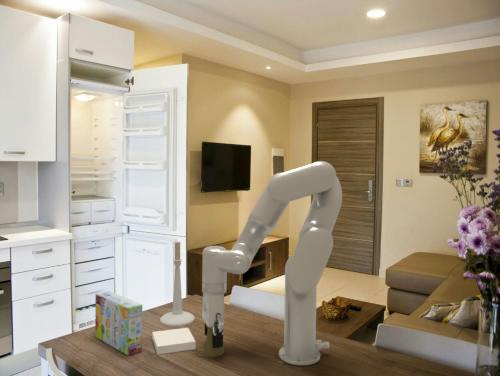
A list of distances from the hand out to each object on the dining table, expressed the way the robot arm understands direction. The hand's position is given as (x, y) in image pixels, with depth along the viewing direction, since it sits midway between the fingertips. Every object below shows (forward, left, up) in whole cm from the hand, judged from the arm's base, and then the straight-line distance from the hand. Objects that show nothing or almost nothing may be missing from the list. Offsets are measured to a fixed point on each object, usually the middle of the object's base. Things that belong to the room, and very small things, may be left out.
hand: (213, 340), depth 131 cm
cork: (0, 0, -4) cm, 4 cm away
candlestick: (+6, -31, -4) cm, 32 cm away
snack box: (+28, -16, -4) cm, 32 cm away
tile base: (+11, -10, -4) cm, 15 cm away
